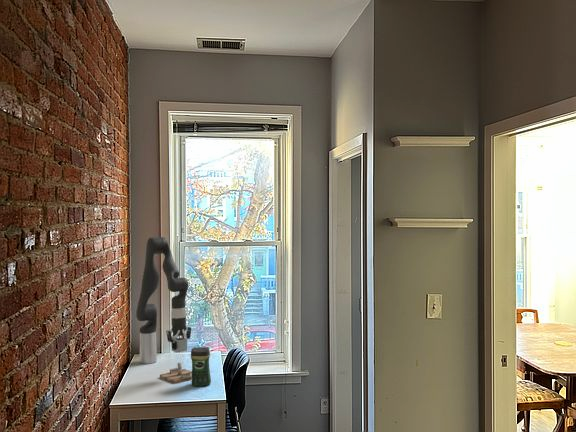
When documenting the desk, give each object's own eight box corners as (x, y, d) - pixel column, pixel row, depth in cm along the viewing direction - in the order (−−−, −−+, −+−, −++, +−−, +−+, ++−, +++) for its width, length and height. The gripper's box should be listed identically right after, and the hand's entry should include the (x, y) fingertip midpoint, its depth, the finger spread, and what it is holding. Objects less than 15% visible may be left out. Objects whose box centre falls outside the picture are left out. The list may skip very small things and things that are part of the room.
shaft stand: (159, 377, 295) (159, 363, 295) (184, 371, 306) (184, 357, 305) (175, 383, 284) (174, 368, 284) (200, 377, 295) (199, 363, 294)
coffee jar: (211, 382, 286) (211, 345, 286) (209, 386, 278) (208, 349, 278) (192, 382, 286) (192, 345, 286) (189, 387, 279) (189, 349, 278)
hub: (171, 350, 295) (171, 339, 295) (181, 348, 299) (181, 337, 299) (177, 352, 291) (177, 341, 291) (187, 350, 295) (187, 339, 295)
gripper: (186, 313, 302) (187, 345, 302) (162, 317, 293) (163, 349, 293) (194, 315, 297) (195, 347, 297) (170, 319, 287) (171, 352, 287)
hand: (179, 348), depth 295 cm, fingers closed on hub, 5 cm apart
